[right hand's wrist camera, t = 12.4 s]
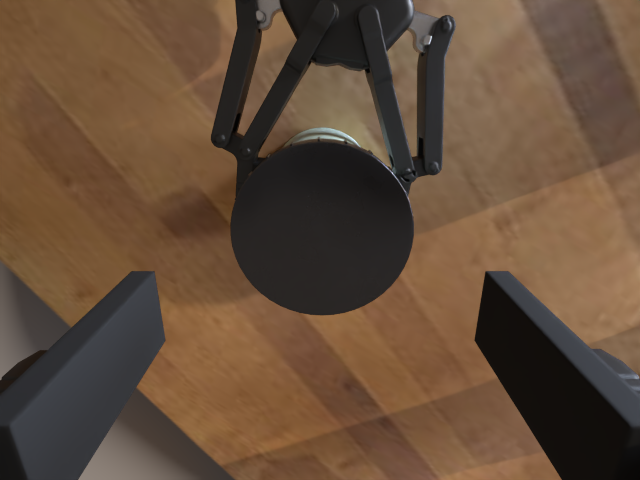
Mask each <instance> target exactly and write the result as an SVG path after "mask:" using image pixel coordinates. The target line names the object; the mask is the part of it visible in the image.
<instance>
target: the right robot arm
mask: <svg viewBox="0 0 640 480" xmlns="http://www.w3.org/2000/svg"><path fill="white" fill-rule="evenodd" d="M164 342H165V334H164V328H163V322H162V316H161V309H160V303H159V297H158V291H157V285H156V278H155V272H154V271H132V272H130V273H129V274H128V275H127V276H126V277H125V278H124V279H123V280H122V281H121V282H120V283H119V284H118V285H117V286H116V287H115V288H113V289H112V290H111V291H110V292H109V293H108V294H107V295H106V296H105V297H104V298H103V299H102V300H101V301H100V302H99V303H97V304H96V305H95V306H94V307H93V308H92V309H91V310H90V311H89V312H88V313H87V314H86V315H85V316H84V317H83V318H82V319H80V320H79V321H78V322H77V323H76V324H75V325H74V326H73V327H72V328H71V329H70V330H69V331H68V332H67V333H66V334H65V335H63V336H62V337H61V338H60V339H59V340H58V341H57V342H56V343H55V344H54V345H53V346H52V347H51V348H50V349H49V350H40V351H38V352H36V353H34V354H33V355H31V356H29V357H27V358H26V359H24V360H22V361H20V362H19V363H17V364H16V365H15V366H14V367H13V368H12V369H11V370H10V371H8V372H7V373H6V374H5V375H4V376H3V377H2V380H0V480H78V479H79V477H80V476H81V474H82V473H83V471H84V469H85V468H86V466H87V465H88V463H89V461H90V460H91V458H92V457H93V455H94V453H95V452H96V450H97V449H98V447H99V445H100V444H101V442H102V441H103V439H104V437H105V436H106V434H107V433H108V431H109V429H110V428H111V426H112V425H113V423H114V422H115V420H116V418H117V417H118V415H119V414H120V412H121V410H122V409H123V407H124V406H125V404H126V402H127V401H128V399H129V398H130V396H131V395H132V393H133V391H134V390H135V388H136V387H137V385H138V383H139V382H140V380H141V379H142V377H143V375H144V374H145V372H146V371H147V369H148V367H149V366H150V364H151V363H152V361H153V360H154V358H155V356H156V355H157V353H158V352H159V350H160V348H161V347H162V345H163V344H164ZM475 342H476V344H477V345H478V347H479V348H480V350H481V352H482V353H483V355H484V356H485V358H486V360H487V361H488V363H489V364H490V366H491V367H492V369H493V371H494V372H495V374H496V375H497V377H498V379H499V380H500V382H501V383H502V385H503V387H504V388H505V390H506V391H507V393H508V395H509V396H510V398H511V399H512V401H513V402H514V404H515V406H516V407H517V409H518V410H519V412H520V414H521V415H522V417H523V418H524V420H525V422H526V423H527V425H528V426H529V428H530V430H531V431H532V433H533V434H534V436H535V438H536V439H537V441H538V442H539V444H540V445H541V447H542V449H543V450H544V452H545V453H546V455H547V457H548V458H549V460H550V461H551V463H552V465H553V466H554V468H555V469H556V471H557V473H558V474H559V476H560V477H561V479H562V480H640V379H639V376H638V375H637V374H636V373H635V372H634V371H632V370H631V369H630V368H629V367H628V366H627V365H626V364H625V363H623V362H622V361H621V360H619V359H617V358H615V357H614V356H612V355H610V354H608V353H607V352H605V351H603V350H601V349H590V348H589V347H588V346H587V345H586V344H585V343H584V342H583V341H582V340H581V339H580V338H579V337H578V336H577V335H576V334H574V333H573V332H572V331H571V330H570V329H569V328H568V327H567V326H566V325H565V324H564V323H563V322H562V321H561V320H560V319H558V318H557V317H556V316H555V315H554V314H553V313H552V312H551V311H550V310H549V309H548V308H547V307H546V306H545V305H544V304H543V303H541V302H540V301H539V300H538V299H537V298H536V297H535V296H534V295H533V294H532V293H531V292H530V291H529V290H528V289H527V288H525V287H524V286H523V285H522V284H521V283H520V282H519V281H518V280H517V279H516V278H515V277H514V276H513V275H512V274H511V273H510V272H508V271H486V272H485V278H484V284H483V291H482V297H481V303H480V309H479V316H478V322H477V328H476V334H475Z"/></svg>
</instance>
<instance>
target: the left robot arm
mask: <svg viewBox="0 0 640 480" xmlns="http://www.w3.org/2000/svg"><path fill="white" fill-rule="evenodd" d="M235 2H236V15H237V32H236V36H235V40H234V44H233V49H232V53H231V57H230V61H229V65H228V69H227V73H226V77H225V81H224V85H223V89H222V93H221V98H220V102H219V106H218V110H217V114H216V118H215V122H214V126H213V130H212V134H211V141H212V143H213V144H214V146H216V147H218V148H223V149H225V150H227V151H229V152H231V153H232V154H234V155H235V157H236V159H237V183H236V197H237V196H238V193H239V191H240V189H241V187H242V186H243V184H244V183H245V181H246V180H247V178H248V177H247V176H248V174H249V173H250V172H251V171H252V172H253V171H254V170H255V169H256V168H257V166H258V165H259V164H261V163H262V162H263V161H264V160H265V159H266V158H259V157H258V152H259V151H260V149H261V147H262V145H263V144H264V142H265V140H266V138H267V137H268V135H269V133H270V132H271V130H272V128H273V126H274V125H275V123H276V121H277V120H278V118H279V116H280V115H281V113H282V111H283V109H284V108H285V106H286V104H287V103H288V101H289V99H290V97H291V96H292V94H293V92H294V91H295V89H296V87H297V85H298V84H299V82H300V80H301V79H302V77H303V75H304V74H305V72H306V71H307V69H308V67H309V66H310V64H311V62H313V63H315V64H316V65H319V66H326V67H328V66H334V65H340V66H342V67H344V68H347V69H349V70H355V71H361V70H365V74H366V77H367V81H368V84H369V86H370V89H371V93H372V96H373V100H374V104H375V108H376V111H377V115H378V119H379V122H380V126H381V130H382V134H383V137H384V141H385V145H386V149H387V152H388V156H389V160H390V163H391V167H392V170H393V172H392V173H393V174H394V175H395V177H396V178H397V179H398V180H399V182H400V183H401V185H402V187H403V188H404V190H405V191H406V192H407V194H406V195H407V197H408V194H409V190H410V185H411V183H412V182H413V181H414V180H415V179H416V178H417V177H420V176H425V175H436V174H438V173H439V172H440V171H441V169H442V154H443V116H444V79H445V56H446V54H447V51H448V48H449V45H450V42H451V39H452V36H453V34H454V31H455V27H456V23H455V20H454V18H453V17H451V16H449V15H445V16H442V17H441V18H436V17H433V16H430V15H427V14H424V13H420V12H417V11H414V5H413V2H412V0H235ZM278 12H283V13H284V15H285V17H286V19H287V21H288V23H289V25H290V27H291V29H292V31H293V33H294V35H295V37H296V39H297V41H296V43H295V45H294V47H293V49H292V50H291V52H290V54H289V56H288V58H287V60H286V62H285V64H284V66H283V68H282V70H281V72H280V74H279V75H278V77H277V79H276V81H275V82H274V84H273V86H272V88H271V90H270V91H269V93H268V95H267V97H266V98H265V100H264V102H263V104H262V105H261V107H260V109H259V111H258V113H257V114H256V116H255V118H254V120H253V121H252V123H251V125H250V127H249V129H248V130H247V132H246V134H245V136H243V135H241V134H239V133H237V131H238V127H239V124H240V120H241V116H242V112H243V109H244V105H245V101H246V97H247V94H248V90H249V86H250V82H251V78H252V75H253V71H254V67H255V63H256V60H257V56H258V52H259V48H260V44H261V37H262V31H264V30H267V29H269V28H270V27H271V25H272V21H273V17H274V15H275V14H276V13H278ZM406 30H408V31H410V32H411V34H412V36H413V48H414V50H415V51H416V52H418V53H419V58H418V67H417V156H415V157H411V153H410V149H409V145H408V141H407V137H406V133H405V129H404V125H403V121H402V117H401V113H400V109H399V105H398V101H397V97H396V93H395V89H394V85H393V81H392V72H391V67H390V63H389V59H388V55H387V51H388V50H389V48H390V47H391V46H392V45H393V44H394V43H395V42H396V41H397V40H398V38H399V37H400V36H401V35H402V34H403V33H404V32H405V31H406Z"/></svg>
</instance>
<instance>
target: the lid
mask: <svg viewBox="0 0 640 480" xmlns="http://www.w3.org/2000/svg"><path fill="white" fill-rule="evenodd" d="M392 172H393V170H392V169H391V168H390V167H387V166H386V165H385V164H384V163H383V162H382V161H381V160H379V159H378V158H377V157H376V156H374V155H373V153H372V152H371V151H370V150H368V151H367V150H365V149H363V148H361V147H359V146H357V145H354V144H351V143H349V142H347V141H346V140H344V141H341V140H336V139H324V138H321V139H320V137H318V139H309V140H304V141H299V142H296V143H294V142H291V144H290V145H287V146H285V147H283V148H281V149H279V150H277V151H276V152H274V153H273V154H268V156H267V157H266V159H265V160H264V161H263V162H262V163H261V164H259V165H258V166H257V168H256V169H255V170H254V171H253V172H252V171H251V172H250V173H249V174H248V176H247V177H248V178H247V180H246V181H245V183H244V184H243V186H242V187H241V189H240V191H239V193H238V196H237V197H236V198H235V203H234V207H233V211H232V216H231V241H232V247H233V250H234V254H235V257H236V259H237V261H238V264H239V266H240V268H241V270H242V271H243V273H244V274H245V276H246V277H247V279H248V280H249V281H250V282H251V284H252V285H253V286H254V287H255V288H256V289H257V290H258V291H259V292H260V293H261V294H263V295H264V296H265V297H267V298H268V299H269V300H271V301H273V302H275V303H276V304H278V305H280V306H282V307H285V308H287V309H289V310H292V311H296V312H299V313H304V314H310V315H334V314H340V313H345V312H348V311H352V310H355V309H357V308H360V307H362V306H364V305H366V304H368V303H370V302H371V301H373V300H375V299H376V298H377V297H379V296H380V295H382V294H383V293H384V292H385V291H386V290H387V289H388V288H389V287H390V286H391V285H392V284H393V283H394V282H395V280H396V279H397V278H398V277H399V275H400V273H401V272H402V270H403V268H404V267H405V264H406V262H407V260H408V258H409V255H410V251H411V248H412V243H413V236H414V221H413V213H412V209H411V205H410V202H409V199H408V197H407V195H406V194H407V192H406V191H405V190H404V188H403V187H402V185H401V183H400V182H399V180H398V179H397V178H396V177H395V175H394V174H393V173H392Z"/></svg>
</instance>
